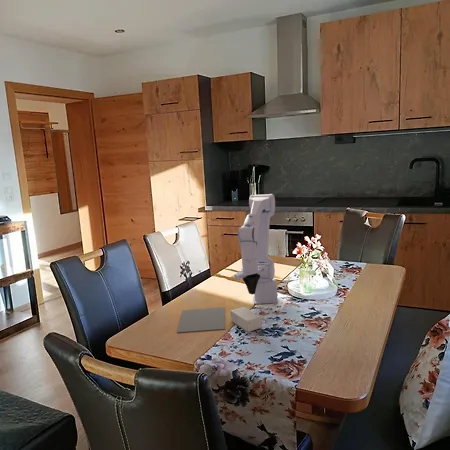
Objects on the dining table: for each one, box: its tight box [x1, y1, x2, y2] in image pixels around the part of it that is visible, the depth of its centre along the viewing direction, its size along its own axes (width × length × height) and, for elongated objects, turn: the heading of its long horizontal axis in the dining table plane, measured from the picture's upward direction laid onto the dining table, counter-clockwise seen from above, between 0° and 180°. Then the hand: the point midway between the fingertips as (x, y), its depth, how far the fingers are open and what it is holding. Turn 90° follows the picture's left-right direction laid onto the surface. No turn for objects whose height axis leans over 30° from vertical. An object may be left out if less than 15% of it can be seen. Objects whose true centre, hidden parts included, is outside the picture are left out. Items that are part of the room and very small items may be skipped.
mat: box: [176, 306, 226, 334], centre depth 158 cm, size 17×20×1 cm
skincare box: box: [230, 306, 263, 333], centre depth 150 cm, size 6×4×12 cm
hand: (252, 293), depth 156 cm, fingers closed
